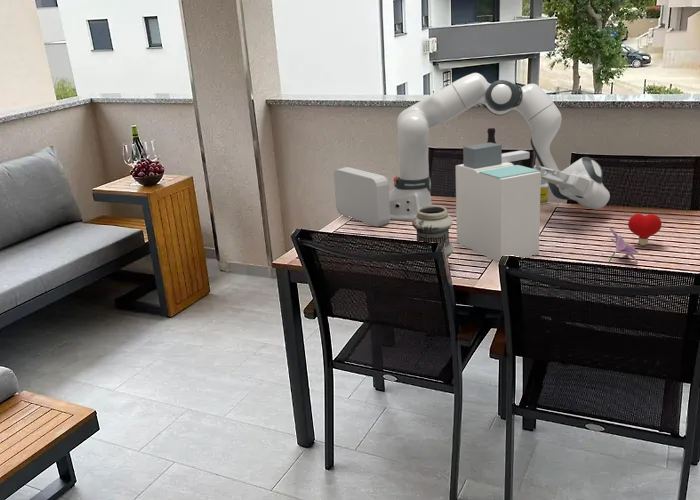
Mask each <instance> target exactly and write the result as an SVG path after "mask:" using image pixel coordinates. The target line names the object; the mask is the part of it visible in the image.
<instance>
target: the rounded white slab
mask: <svg viewBox="0 0 700 500" xmlns="http://www.w3.org/2000/svg"><path fill="white" fill-rule="evenodd" d="M333 182H334V194H335V208H336V211H337V213H338V214H339V215H342V216H344V215H345V216H344V217H346V216H350V217H352V218H354V219H353V220H355V219H357V220H356V221H358V220H359V221H358V222H360V221H362V222H361V223H363V222H365V223H364V224H366V223H367V224H366V225H369V224H370V225H369V226H371V225H374V226H376V227H381V226H385V225H388V224H389V223H390V221H391V219H390V206H389V192H390V189H389V181H388V178H387V177H386V176H384V175H382V174H377V173H373V172H369V171H365V170H362V169H357V168H355V167H354V168H353V167H349V166H345V167H341V168H337V169H334V172H333ZM352 218H351V219H352ZM374 226H373V227H374ZM376 227H375V228H376Z"/></svg>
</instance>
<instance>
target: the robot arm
mask: <svg viewBox="0 0 700 500" xmlns="http://www.w3.org/2000/svg"><path fill="white" fill-rule="evenodd" d="M479 104H481V105H482V106H483V107H484V108H485V109H487V111H488V112H489V113H491V114H493V115H495V116H504V115H508V114H509V113H511V111H517V112H518V113H520V115H521V116H522V117H523V118H524V120H525V122H527V124H528V126H529V129H530V131H531V138H530V146H531V148H532V150H533V153H534V155H535V157H536V159H537V161H538V163H539V165H537V164H535V165H533V168H532V169H536V170H539V172H541V179H542V180H544V181H547V182H546V183H547V184H548V188H549V190H550V191H551V194H552V195H553V196H554V198H557V199H560V200H565V201H569V200H572V201H576V202H577V203H578V204H580V205H581V206H584V207H585V208H588V209H591V210H600V209H602V208H603V207H605V206H606V205H607V203H609V201H610V198H611V195H610V192H609V190H608V189H607V187H605V185H604V184H603V169H602V166H601V165H600V164H599V163H598V162H597V161H596V160H595V159H593V158H591V157H589V156H582V157H581V158H579V159H578V160H576V161H575V162H573V163H571V164H570V165H569V166H567V167H565V168H564V169H563V170H560V169H559V167H558V166H557V163H556V161H555V160H554V157H553V155H552V154H551V153H552V152H551V149H550V148H551V145H552V141H554V140H553V139H554V138H555V137H556V135H557V134H558V132H559V130H560V128H561V126H562V125H561V124H562V113H561V112H560V110H559V108H558V107H557V105H556V104H555V103H554V101H553V100H552V98H551V97H550V96H549V95H548V94H547V92H546V91H544V90H543V88H542V87H540V86H539V85H538V84H536V83H528V84H525V85H523V86H522V87H521V86H519V85H517V84H515V83H514V82H511V81H509V80H507V79H506V80H505V79H499V80H495V81H493V82H492V83H489V82H488V81H487V79H486V77H484V75H483V74H480V73H478V72H472V73H470V74H467V75H465V76H462V77H460V78H459V79H456V80H454V81H453V82H452V83H450V84H448V85H446V86H444V87H443V88H442V89H439V90H438V91H437V92H435V93H433V94H432V95H430V96H427V97H426V98H424V99H422V100H420V101H418V102H416V103H414V104H413V105H411V106H409V107H408V108H405V109H404V110H402V111H401V112H400V113H399V114H398V116H397V118H396V127H397V142H398V143H397V144H398V145H397V147H398V172H399V173H398V175H399V176H397V175H396V176H394V177H393V182H394V183H393V184H394V187H393V188H392V189H391V190H389V206H390V220H406V221H407V220H412V221H413V219H414V217H415V216H417V212H418V209H419V208H421V207H424V206H432V205H433V204H432V203H433V202H432V198H431V190H432V187H431V186H432V182H431V176H430V170H429V168H430V166H429V137H430V135H429V131H430V130H431V129H433V128H436V127H438V126H440V125H442V124H444V123H448V122H449V121H451V120H453V119H454V118H456V117H458V116H459V115H461V114H463V113H465V112H467V110H469V109H471V108H472V107H474V106H476V105H479Z"/></svg>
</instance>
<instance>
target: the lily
mask: <svg viewBox="0 0 700 500" xmlns="http://www.w3.org/2000/svg"><path fill="white" fill-rule="evenodd" d="M608 229H609V230H610V231H611V233H612V234H613V237H614V238H613V237H612V238H609V239H610V241H611V242H613V243H614V244H615V251H614V252H613V254H612V255H611V257H610V259H608V262H609V263H610V262H611V260H612V259H613V257H614V256H615V254H616V253H623V254H625V255H626V256H627V257H629V256H630V258H632V259H633V260H634V261H635V262H636V264H638V263H639V262H638V260H637V259H636V257H635V255H633V254H640V252H639V251H638V250H637V249H636V248H635V247H634V246H632V244H629V243H628V242H627V241H625V240H624V238H623V237H622V236H621V235H618V233H617V232H616V231H615V230H614V229H613V228H611V227H610V226H608Z"/></svg>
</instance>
